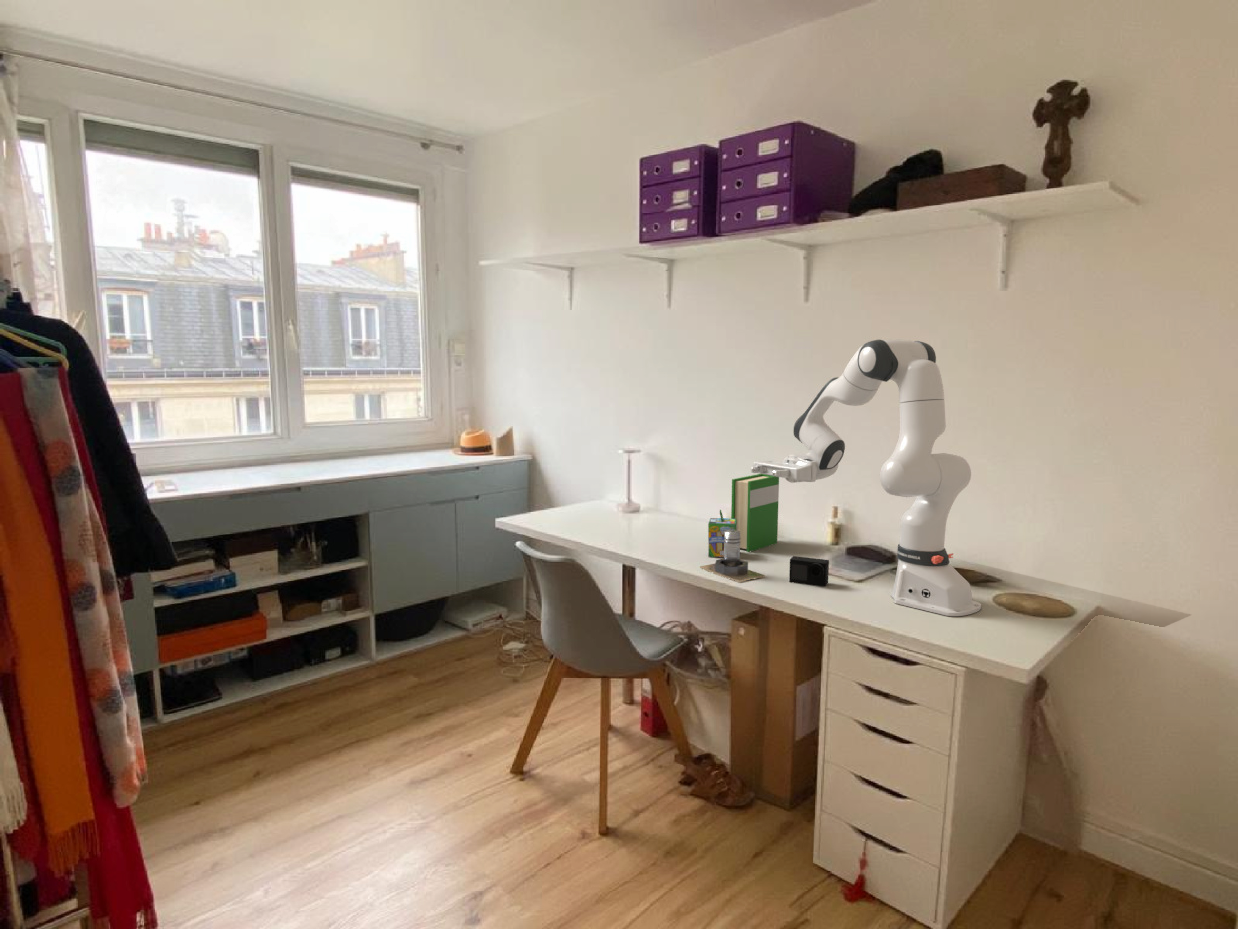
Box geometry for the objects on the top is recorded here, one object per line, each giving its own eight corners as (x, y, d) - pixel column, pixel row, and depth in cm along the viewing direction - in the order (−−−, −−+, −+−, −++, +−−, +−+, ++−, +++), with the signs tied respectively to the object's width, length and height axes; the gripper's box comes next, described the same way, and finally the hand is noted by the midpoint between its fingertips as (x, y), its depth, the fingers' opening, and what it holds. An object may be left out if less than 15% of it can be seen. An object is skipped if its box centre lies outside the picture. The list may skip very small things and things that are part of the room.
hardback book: (748, 552, 246) (750, 481, 243) (730, 548, 251) (732, 479, 248) (777, 543, 259) (779, 475, 256) (759, 539, 264) (761, 473, 261)
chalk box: (735, 558, 238) (736, 514, 236) (707, 557, 240) (708, 513, 238) (737, 551, 247) (738, 508, 245) (709, 550, 249) (710, 507, 247)
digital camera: (787, 583, 211) (788, 559, 211) (792, 578, 216) (792, 555, 215) (824, 588, 207) (825, 564, 206) (828, 583, 212) (829, 559, 211)
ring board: (764, 577, 217) (764, 567, 217) (739, 582, 212) (739, 572, 212) (724, 563, 232) (724, 554, 232) (699, 568, 227) (699, 558, 226)
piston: (743, 571, 221) (744, 532, 220) (730, 573, 219) (731, 534, 217) (732, 567, 225) (733, 529, 224) (720, 570, 223) (720, 531, 221)
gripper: (772, 455, 240) (740, 458, 233) (820, 461, 223) (787, 465, 216) (771, 474, 241) (740, 477, 234) (819, 482, 224) (787, 486, 217)
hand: (763, 471), depth 225 cm, fingers open, 8 cm apart
